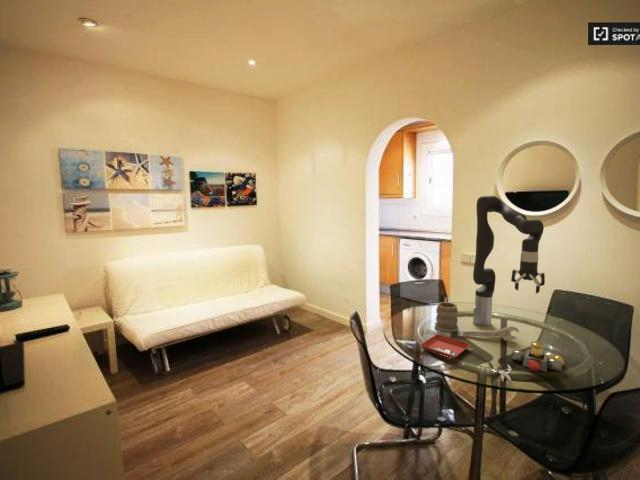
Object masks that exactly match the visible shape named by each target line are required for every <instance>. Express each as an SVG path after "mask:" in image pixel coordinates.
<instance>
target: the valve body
mask: <svg viewBox="0 0 640 480" xmlns="http://www.w3.org/2000/svg"><path fill="white" fill-rule="evenodd" d="M511 359H512V360H514V361H518V362H522V367H526V368H528V369H529V370H530V371H533V372H537V371H541V372H544V373H545V372H546V373H547V371H548V369H549V370H553V371H557V372H560V373H561V372H562V367H563V366H562V361H558V360H554V359H550V358H548V355H547V354H544V353H543V352H542V360H541V359H537V358H533V357H531V349H526V352H524V351H520V350H517V349H512V353H511Z"/></svg>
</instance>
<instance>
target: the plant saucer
mask: <svg viewBox="0 0 640 480" xmlns="http://www.w3.org/2000/svg"><path fill="white" fill-rule="evenodd" d="M470 345H471V344H470V343H468V342H465V341H461V340H458V339H455V338H451V337H448V336H445V335H441V334H437V333H436V334H435V335H433V336H431V337H430V338H428V339H427V340H424V341H423V342H422V343H421V344H420V346H421V347H422V349H424V351H426V350H427V351H426V352H429V351H431V352H430V353H432V352H435V353H438V354H442V355H445V356H448V357H451V358H455V359H456V358H457V357H458V356H459V355H461V354H462V353H463V352H464V351H465V350H467V349H468V347H470ZM433 348H435V349H436V348H440V349H442V350H446V349H447V350H451V351H453V352H454V353H456V354H457V355H456V356H453V355H450V354H447V353H444V352H441V351H438V350H435V349H433ZM435 353H434V354H435ZM438 354H437V355H438Z"/></svg>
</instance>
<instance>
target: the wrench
mask: <svg viewBox="0 0 640 480" xmlns="http://www.w3.org/2000/svg"><path fill="white" fill-rule="evenodd" d="M513 331H514V332H517V333H520V330H519V328H518V327H516V326H514V325H508V326H506V327H504V328H500V329H497V330H495V329H494V330H492V329H491V330H488V329H487V330H481V329H480V330H478V329H477V330H475V329H474V330H473V329H471V330H470V329H468V330H466V329H465V330H464V329H461V330H460V329H458V331H457V336H458V337H498V338H501V339H503V341H506V342H508V341H514V340H516V339H517V338H518V337H517V336H516V335H514V334H513V335H512V334H511V333H512V332H513ZM460 333H462V334H460Z"/></svg>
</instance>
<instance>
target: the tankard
mask: <svg viewBox="0 0 640 480" xmlns="http://www.w3.org/2000/svg"><path fill="white" fill-rule="evenodd" d="M443 301H444V302H443ZM443 301H441V302H439V303H437V306H436V310H435V311H436V317H435V319H436V322H434V329H436V330H437V331H440V332H442V333H452V334H453V333H455V332H458V331H459V325H458V321H459V320H458V315H459V311H458V306H457V304H455V303H453V302H448V296H444V300H443Z"/></svg>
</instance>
